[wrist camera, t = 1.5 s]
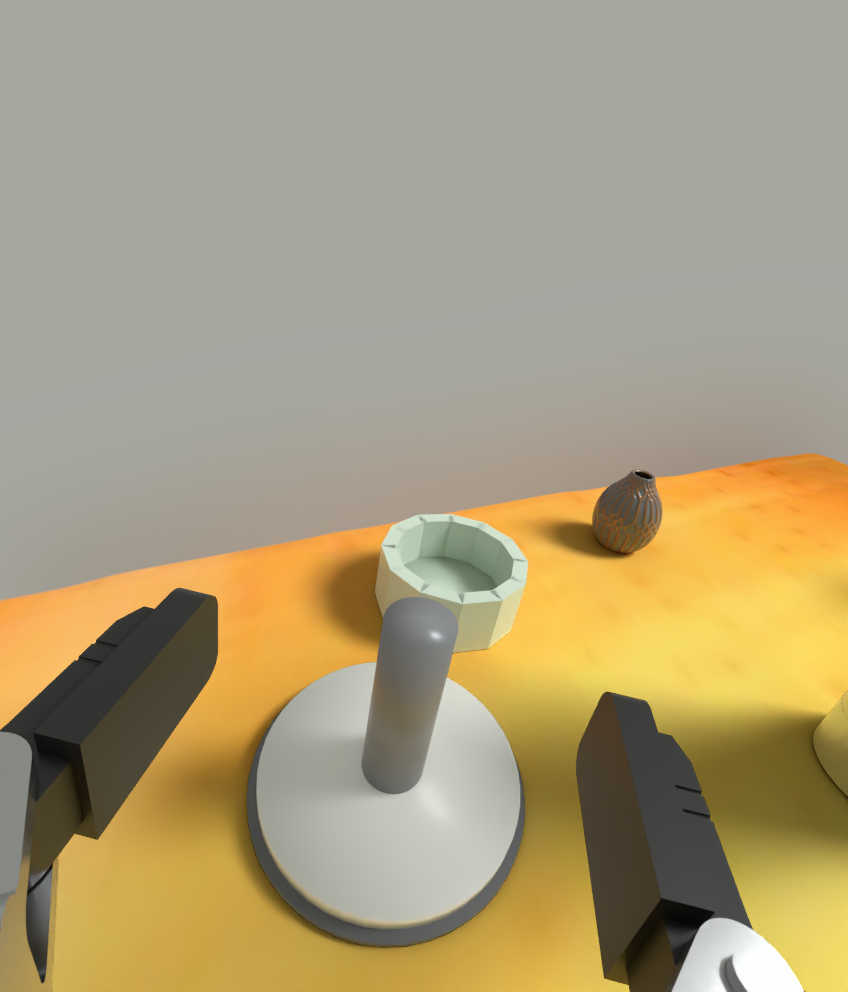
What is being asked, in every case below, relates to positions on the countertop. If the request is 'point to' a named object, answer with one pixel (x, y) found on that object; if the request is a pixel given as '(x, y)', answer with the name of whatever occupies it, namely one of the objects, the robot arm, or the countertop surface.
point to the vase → (628, 513)
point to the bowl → (455, 574)
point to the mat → (357, 932)
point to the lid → (390, 782)
